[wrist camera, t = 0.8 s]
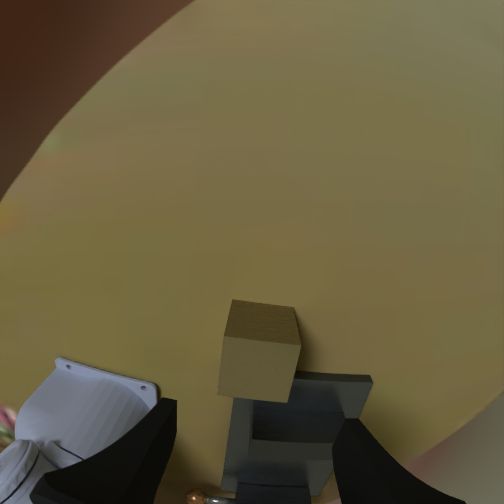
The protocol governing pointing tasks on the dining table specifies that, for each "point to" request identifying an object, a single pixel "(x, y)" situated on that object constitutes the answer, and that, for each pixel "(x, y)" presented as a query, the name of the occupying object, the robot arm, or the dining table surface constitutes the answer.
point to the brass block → (259, 352)
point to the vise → (292, 432)
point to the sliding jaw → (254, 495)
